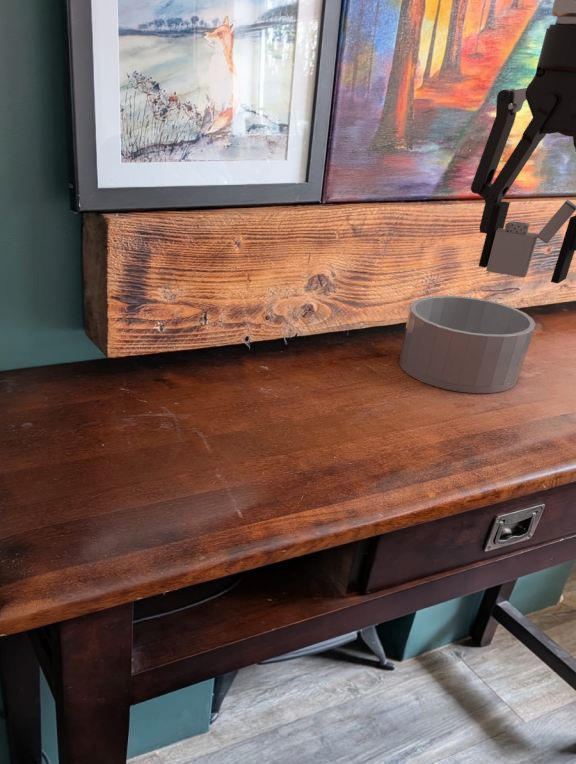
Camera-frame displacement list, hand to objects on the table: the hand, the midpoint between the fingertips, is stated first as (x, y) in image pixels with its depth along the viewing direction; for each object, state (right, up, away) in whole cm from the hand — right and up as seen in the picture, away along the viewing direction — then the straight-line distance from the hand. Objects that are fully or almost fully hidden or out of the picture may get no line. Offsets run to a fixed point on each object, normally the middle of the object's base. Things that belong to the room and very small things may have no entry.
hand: (521, 272), depth 82 cm
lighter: (0, -1, 0) cm, 1 cm away
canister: (+2, -6, +25) cm, 25 cm away
